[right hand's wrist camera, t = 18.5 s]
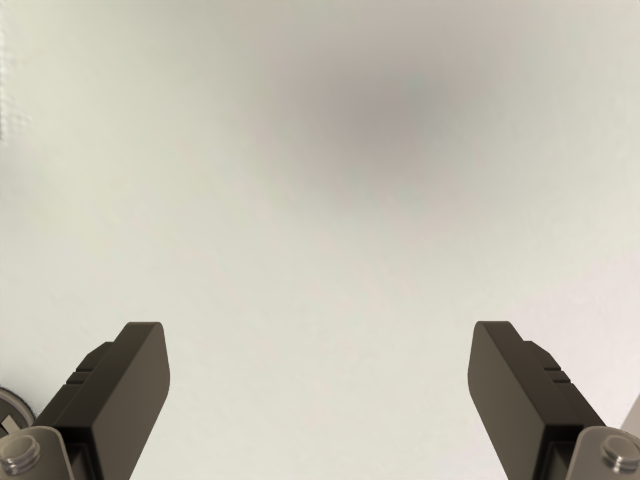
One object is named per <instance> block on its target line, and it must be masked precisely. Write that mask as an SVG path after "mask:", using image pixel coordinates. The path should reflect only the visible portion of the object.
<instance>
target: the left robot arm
mask: <svg viewBox="0 0 640 480" xmlns="http://www.w3.org/2000/svg"><path fill="white" fill-rule="evenodd" d="M33 423H34V418H33V416H32V414H31V412H30V410H29V409H28V408H27V407H26V405H25V404H24V403H23V402H22V401H20V400H19V399H18V398H17V397H15V396H14V395H12V394H11V393H9V392H7V391H5V390H2V389H0V439H1V438H3V437H5V436H6V435H8V434H11V433H13V432H15V431H18V430H21V429H24V428H28V427H31V425H32V424H33Z"/></svg>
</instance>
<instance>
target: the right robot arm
mask: <svg viewBox="0 0 640 480" xmlns="http://www.w3.org/2000/svg"><path fill="white" fill-rule="evenodd" d="M169 385H170V370H169V363H168V357H167V350H166V343H165V336H164V330H163V326H162V324H161V323H160V322H129V323H127V324H126V326H125V327H124V328H123V330H122V331H121V332H120V334H119V335H118V336H117V338H116V339H115V341H114V342H105V343H103V344H102V345H100V346H99V347H98V348H96V349H95V350H93V351H92V352H90V353H89V354H87V356H86V357H85V358H84V360H83V361H82V362H81V363H80V365H79V366H78V367H77V368H76V372H73V373H72V375H71V376H70V377H69V378H68V380H67V381H66V385H63V386H62V387H61V389H60V390H59V391H58V392H57V394H56V395H55V396H54V397H53V399H52V400H51V401H50V403H49V404H48V405H47V406H46V408H45V409H44V410H43V411H42V413H41V414H40V415H39V416H38V418H37V419H36V420H35V421H34V423H33V424H32V425H31V427H28V428H24V429H21V430H18V431H15V432H13V433H11V434H8V435H6V436H5V437H3V438H1V439H0V480H129V479H130V477H131V475H132V472H133V470H134V468H135V466H136V464H137V461H138V459H139V457H140V455H141V453H142V450H143V448H144V446H145V444H146V442H147V439H148V437H149V435H150V433H151V431H152V428H153V426H154V424H155V422H156V420H157V417H158V415H159V413H160V411H161V409H162V407H163V404H164V402H165V400H166V398H167V395H168V391H169ZM468 386H469V391H470V395H471V397H472V400H473V402H474V404H475V406H476V409H477V411H478V413H479V415H480V417H481V420H482V422H483V424H484V426H485V429H486V431H487V433H488V435H489V437H490V440H491V442H492V444H493V446H494V449H495V451H496V453H497V455H498V457H499V460H500V462H501V464H502V466H503V469H504V471H505V473H506V475H507V477H508V480H640V439H639V438H637V437H635V436H634V435H631V434H629V433H627V432H625V431H622V430H619V429H616V428H612V427H607V426H606V425H605V423H604V422H603V421H602V420H601V418H600V417H599V416H598V415H597V413H596V412H595V411H594V409H593V408H592V407H591V406H590V404H589V403H588V402H587V401H586V399H585V398H584V397H583V395H582V394H581V393H580V392H579V390H578V389H577V388H576V386H575V385H574V384H573V383H571V380H570V379H569V378H568V376H567V375H566V374H565V372H564V371H561V367H560V366H559V365H558V364H557V362H556V361H555V360H554V358H553V357H552V356H551V355H550V353H548V352H547V351H545V350H544V349H542V348H541V347H540V346H538V345H537V344H535V343H534V342H532V341H523V339H522V338H521V337H520V335H519V334H518V332H517V331H516V330H515V328H514V327H513V326H512V324H511V323H510V322H508V321H478V322H477V323H476V325H475V328H474V333H473V340H472V347H471V354H470V361H469V367H468Z"/></svg>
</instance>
